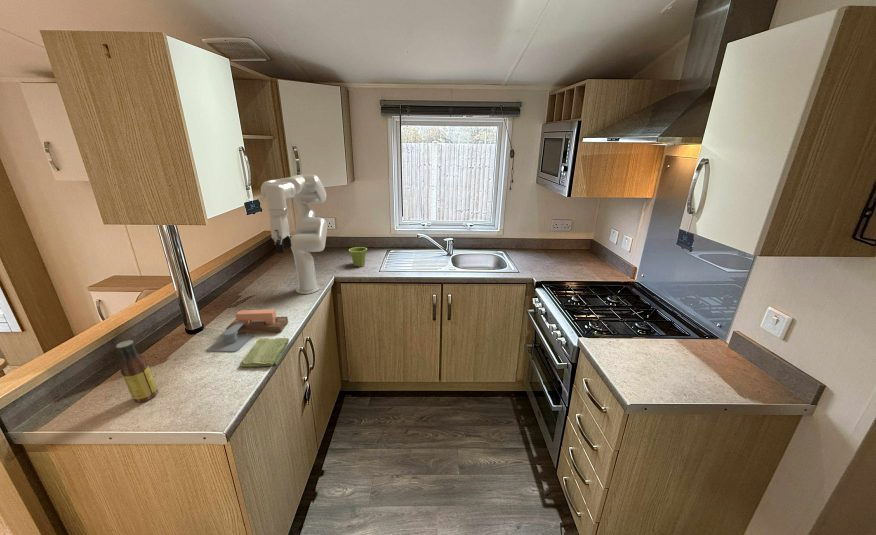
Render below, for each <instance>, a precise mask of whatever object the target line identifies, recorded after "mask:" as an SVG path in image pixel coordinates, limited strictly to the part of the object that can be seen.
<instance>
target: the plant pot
mask: <svg viewBox="0 0 876 535" xmlns="http://www.w3.org/2000/svg"><path fill="white" fill-rule="evenodd" d="M367 250H368V248H367V247H363V246H359V247H358V246H357V247H351V248H349V249H348V251H349V254H350V256H351V260H352V265H353V267H355V266H356V267H357V266H362V267H364V266H365V264H366V255H367Z"/></svg>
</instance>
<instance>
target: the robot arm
mask: <svg viewBox="0 0 876 535" xmlns="http://www.w3.org/2000/svg"><path fill="white" fill-rule="evenodd" d="M260 192H261V195H262V196H263V198H265V199H266V203H267V209H268V215H269V224H270V234H271V239H272V240H273V242H274V246H275V247H274V248H275V252H276V254H283V253H284V252H285V250H284V248H290V249H291V251H292V255H293V259H294V264H295V272H296V279H297V284H298V286H297V287H296V288H295V291H296V293H297V294H300V295H307V294H313V293H316V292H318V291H320V290H321V285H320V284H318V283H317V276H316V275H317V274H316V269H315V268H316V267H315V261H314V257H313V255H312V254H311V253H316V252H318V253H319V252H323V251H324V250H325V247H326V241H327V235H328V223H327V220H326V219H325V218H323V217H316V212H315V210H314V209H313V207H312V206H310V205H309V204H323V203H325V202H326V200H327V192H326V188H325V187H324V185H323V183H322V181H321V180H320V178H319V176H317V175H316V174H295V175H292V176H289V177H283V178H277V179H269V180H267V181H263V182H262V184H261V186H260ZM292 198H294V200H295V204H296V207H297V210H298V216H297V219H296V220H297V221H296V227H295V229H296V232H297V233H296V234H294V235H292V236H291V231H290V223H289V219H288V216H289V212H288V207H287V201H286V200H287V199H289V200H290V199H292Z"/></svg>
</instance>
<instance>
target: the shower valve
mask: <svg viewBox="0 0 876 535" xmlns="http://www.w3.org/2000/svg"><path fill="white" fill-rule="evenodd" d="M244 323H245V322H238V323H236V324H235V325H233V326H232V327H230V328H229V329H227V330H226V329H225V330H224V331H223V332H222V336H220V338H219V339H217V340H216V341H215V342H213V344H211V345H210V346H209V347H207V349H206V351H207V352H212V353H213V352H215V353H218V352H219V353H220V352H222V353H236V352H238V351H240V350H241V349H242V348H244V346H245V345H246V344H247V343H249V341H250V340H251V339H252V338H253V337H254V334H237V333H238V329H239V328H240V327H241V326H242V325H243V324H244Z"/></svg>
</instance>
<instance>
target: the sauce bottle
mask: <svg viewBox="0 0 876 535" xmlns="http://www.w3.org/2000/svg"><path fill="white" fill-rule="evenodd" d="M135 345H136V343H135V341H134V340H132V339H129V340H125V341H121V342H118V343H117V344H116V345H115V349H116V351H117V353H118V354H119V357H120V360H121V361H120V373H121V376H122V378H123V380H124V383H125V384H126V387H127V389H128V391H129V394H130V397H131V398H132V399H133V400H134V402H136V403H143V402H144V403H145V402H146V401H149V400H151V399H153V398H154V397H156V395H158V393H159V390H158V386H157V384H156V381H155V378H154V375H153V373H152V371H151V369H150V366H149V364H148V363H147V360H146V359H145V357H144V356H143V355H142V354H140V353H138V351H137V349H136V346H135Z"/></svg>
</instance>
